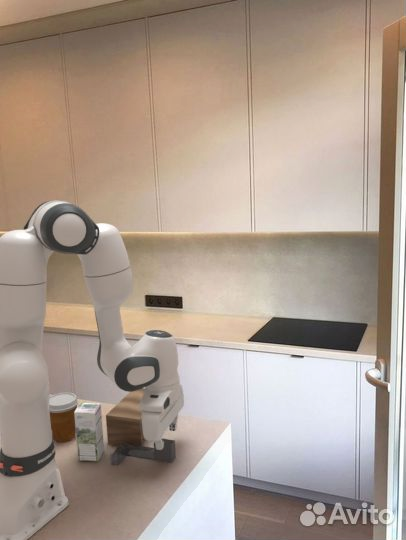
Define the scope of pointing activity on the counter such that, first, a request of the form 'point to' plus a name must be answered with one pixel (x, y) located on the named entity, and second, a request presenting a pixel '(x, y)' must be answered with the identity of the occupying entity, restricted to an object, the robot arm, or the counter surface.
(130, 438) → the walnut cubby
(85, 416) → the syrup box
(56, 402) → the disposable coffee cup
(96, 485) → the counter surface
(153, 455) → the metal crook
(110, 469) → the counter surface
